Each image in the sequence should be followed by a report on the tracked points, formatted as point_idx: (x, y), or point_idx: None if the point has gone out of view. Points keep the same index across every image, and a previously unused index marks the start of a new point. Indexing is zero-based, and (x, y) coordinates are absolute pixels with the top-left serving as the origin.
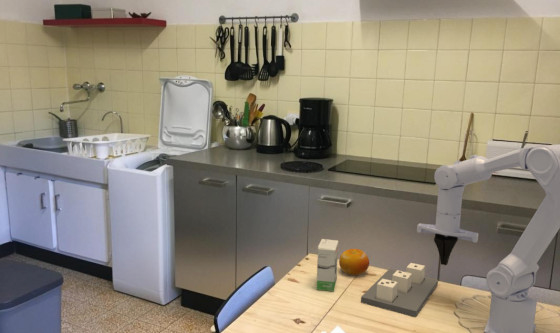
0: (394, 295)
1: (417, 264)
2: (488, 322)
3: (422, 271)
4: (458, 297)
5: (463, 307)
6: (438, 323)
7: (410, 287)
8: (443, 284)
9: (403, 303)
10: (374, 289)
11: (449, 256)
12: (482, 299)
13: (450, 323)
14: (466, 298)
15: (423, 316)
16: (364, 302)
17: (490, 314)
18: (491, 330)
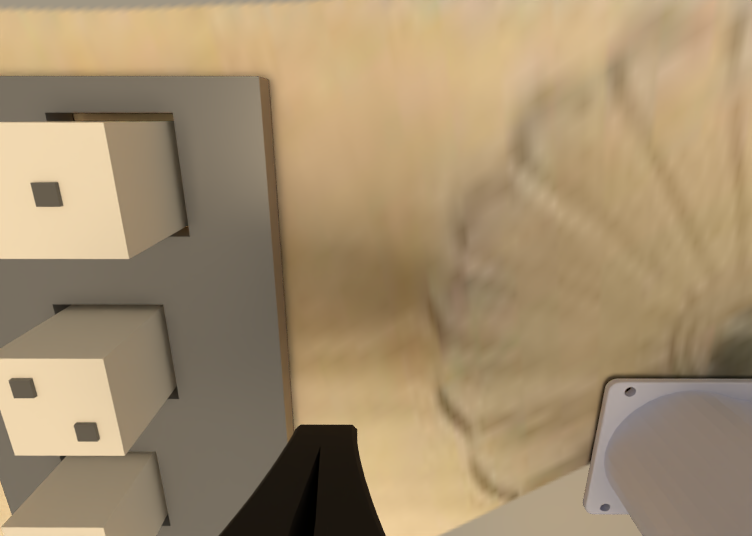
0: (147, 508)
1: (33, 131)
2: (605, 442)
3: (134, 202)
4: (432, 207)
5: (476, 321)
6: (397, 518)
7: (158, 321)
8: (300, 41)
9: (215, 508)
10: None
11: (363, 475)
12: (573, 151)
13: (443, 496)
14: (479, 194)
15: None
16: None
17: (641, 532)
18: (615, 497)
